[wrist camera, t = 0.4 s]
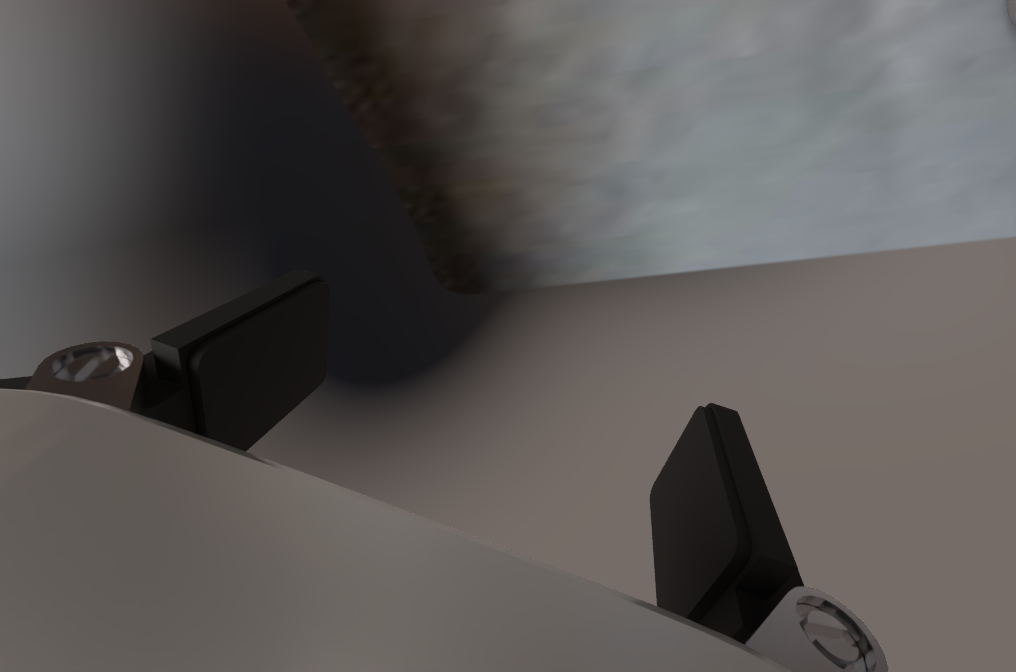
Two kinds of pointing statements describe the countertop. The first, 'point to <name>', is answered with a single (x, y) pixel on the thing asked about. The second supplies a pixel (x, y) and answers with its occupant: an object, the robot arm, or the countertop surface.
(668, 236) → the countertop surface
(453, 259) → the countertop surface
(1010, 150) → the countertop surface
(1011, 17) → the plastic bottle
